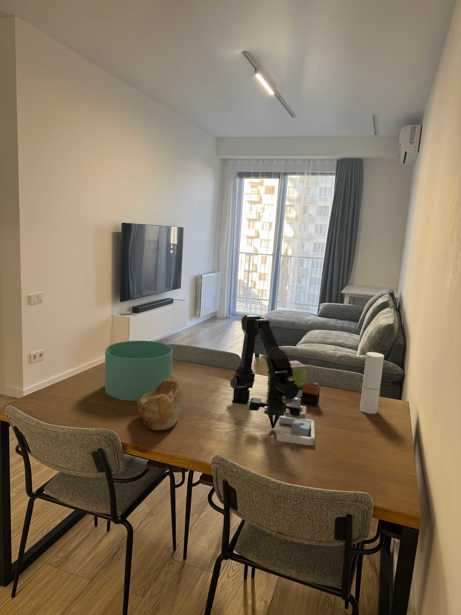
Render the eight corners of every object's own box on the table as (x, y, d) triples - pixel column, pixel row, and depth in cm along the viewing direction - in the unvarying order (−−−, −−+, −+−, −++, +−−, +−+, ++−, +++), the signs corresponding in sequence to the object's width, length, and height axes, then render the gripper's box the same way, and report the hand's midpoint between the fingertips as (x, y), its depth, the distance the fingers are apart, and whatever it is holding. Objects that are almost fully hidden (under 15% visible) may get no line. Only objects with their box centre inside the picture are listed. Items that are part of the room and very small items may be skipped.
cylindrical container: (377, 409, 185) (384, 354, 180) (376, 415, 178) (383, 358, 174) (361, 405, 188) (367, 351, 183) (358, 411, 181) (365, 355, 177)
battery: (315, 407, 182) (317, 385, 181) (300, 403, 186) (302, 382, 184) (318, 404, 186) (320, 382, 184) (304, 400, 189) (306, 379, 188)
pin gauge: (290, 418, 169) (292, 399, 168) (291, 414, 172) (292, 396, 171) (298, 419, 168) (300, 400, 167) (299, 415, 172) (300, 397, 170)
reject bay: (276, 440, 151) (277, 434, 151) (279, 421, 167) (279, 415, 166) (313, 445, 149) (314, 439, 148) (313, 426, 164) (313, 420, 164)
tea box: (295, 389, 203) (297, 359, 200) (305, 397, 193) (308, 366, 191) (266, 391, 198) (268, 361, 195) (275, 399, 188) (277, 368, 186)
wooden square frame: (284, 421, 167) (285, 411, 167) (285, 413, 175) (286, 403, 174) (305, 423, 166) (305, 414, 165) (305, 415, 174) (305, 406, 173)
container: (184, 387, 197) (186, 348, 194) (139, 407, 173) (140, 363, 169) (138, 373, 213) (139, 337, 210) (90, 389, 188) (90, 349, 185)
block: (290, 436, 155) (291, 425, 154) (294, 430, 160) (295, 419, 160) (306, 440, 153) (308, 429, 152) (310, 433, 158) (311, 422, 157)
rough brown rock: (149, 406, 176) (147, 372, 173) (188, 408, 172) (186, 374, 169) (125, 433, 153) (121, 394, 150) (168, 436, 150) (165, 397, 147)
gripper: (248, 393, 150) (245, 434, 153) (301, 400, 147) (297, 441, 150) (252, 382, 161) (249, 421, 164) (301, 388, 158) (298, 427, 161)
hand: (272, 427), depth 159 cm, fingers closed
